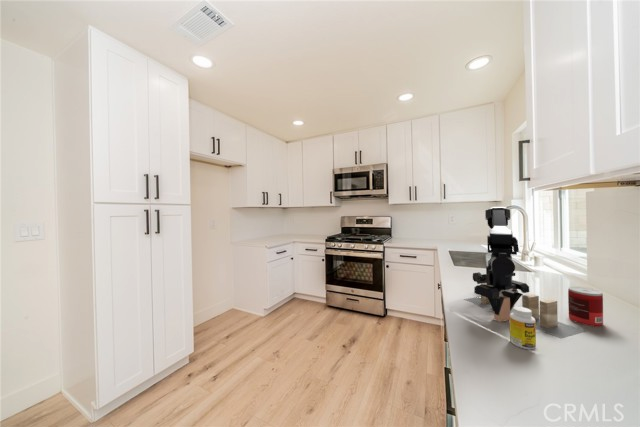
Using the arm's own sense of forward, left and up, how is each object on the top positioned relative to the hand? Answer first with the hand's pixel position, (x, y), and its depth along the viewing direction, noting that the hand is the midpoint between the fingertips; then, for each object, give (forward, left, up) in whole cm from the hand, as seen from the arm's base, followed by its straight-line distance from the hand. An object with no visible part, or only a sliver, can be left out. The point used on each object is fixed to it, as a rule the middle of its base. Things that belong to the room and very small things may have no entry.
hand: (502, 313), depth 80 cm
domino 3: (-9, +3, -2) cm, 10 cm away
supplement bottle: (+10, +12, -3) cm, 16 cm away
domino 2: (0, 0, -3) cm, 3 cm away
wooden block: (-9, +8, -2) cm, 13 cm away
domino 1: (-9, -12, -2) cm, 15 cm away
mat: (-9, -2, -2) cm, 10 cm away
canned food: (-24, +10, -3) cm, 27 cm away
